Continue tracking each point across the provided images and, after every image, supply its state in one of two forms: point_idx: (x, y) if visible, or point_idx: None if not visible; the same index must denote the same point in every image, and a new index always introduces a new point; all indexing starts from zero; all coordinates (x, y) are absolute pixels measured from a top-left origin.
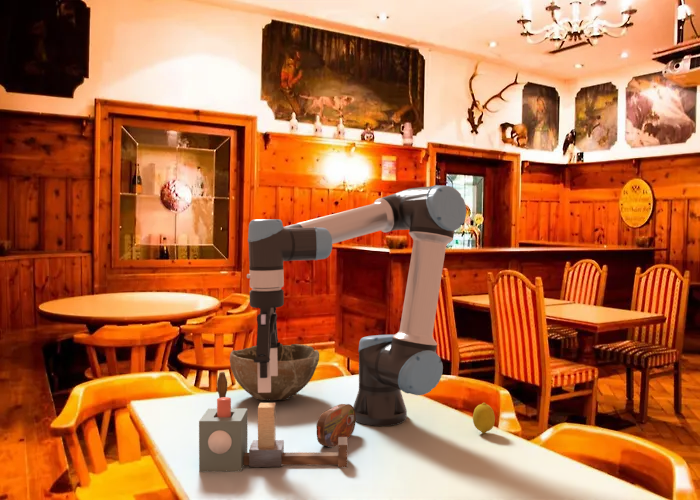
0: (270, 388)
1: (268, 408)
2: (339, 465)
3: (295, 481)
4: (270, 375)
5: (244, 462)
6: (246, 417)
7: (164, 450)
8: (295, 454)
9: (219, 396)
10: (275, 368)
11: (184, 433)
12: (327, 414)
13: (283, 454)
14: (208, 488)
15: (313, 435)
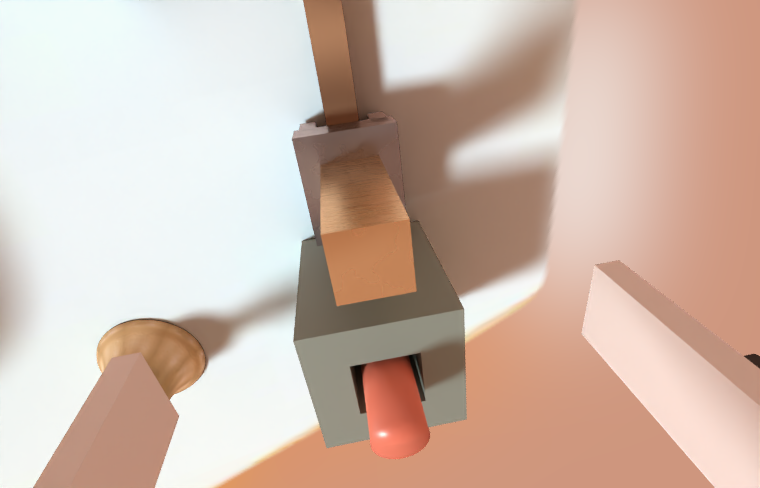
0: (640, 277)
1: (411, 242)
2: None
3: (482, 34)
4: (729, 349)
5: None
6: (319, 315)
7: (312, 420)
8: (336, 71)
9: None
10: (117, 420)
11: (188, 433)
12: None
13: (345, 118)
14: (517, 258)
15: (2, 52)
